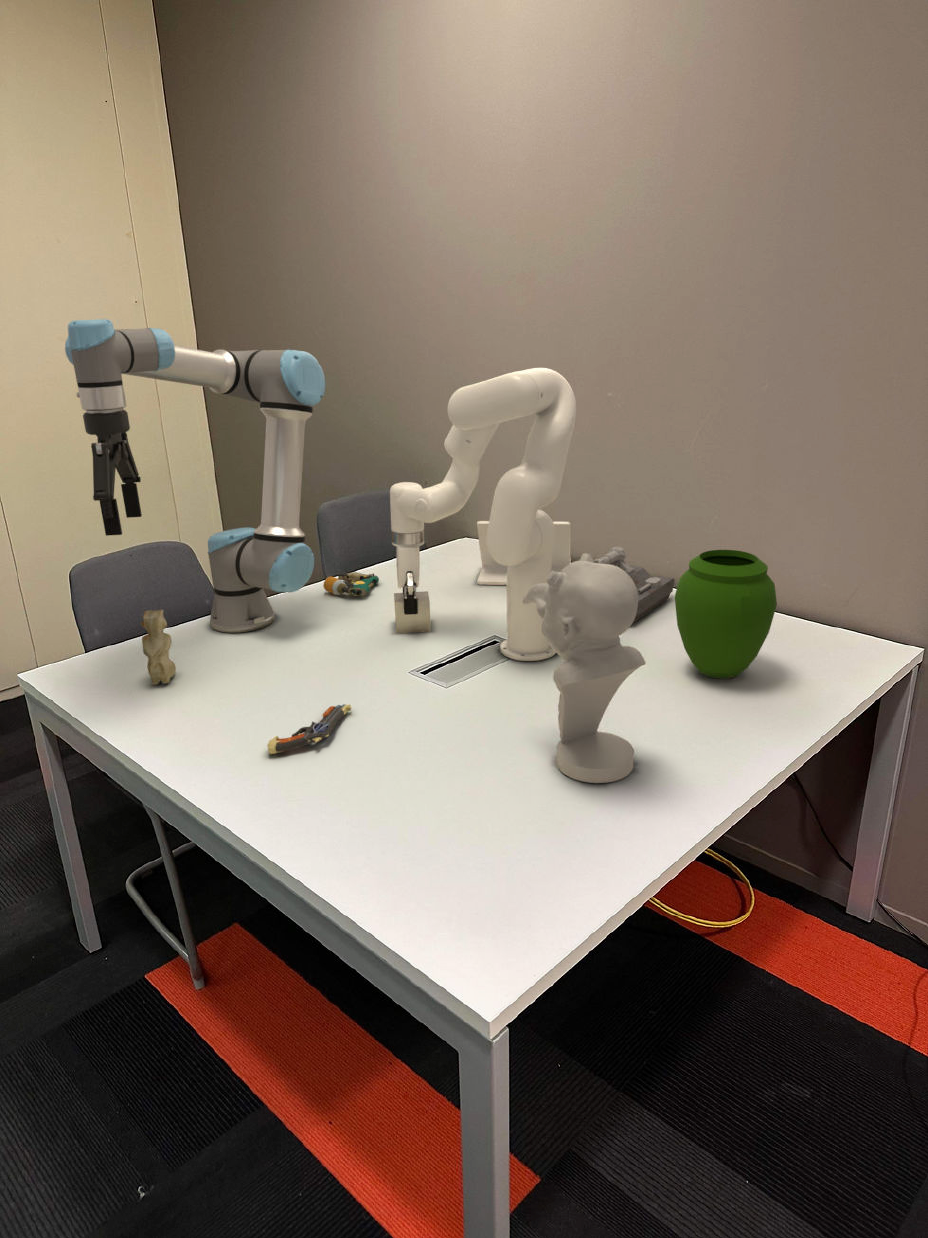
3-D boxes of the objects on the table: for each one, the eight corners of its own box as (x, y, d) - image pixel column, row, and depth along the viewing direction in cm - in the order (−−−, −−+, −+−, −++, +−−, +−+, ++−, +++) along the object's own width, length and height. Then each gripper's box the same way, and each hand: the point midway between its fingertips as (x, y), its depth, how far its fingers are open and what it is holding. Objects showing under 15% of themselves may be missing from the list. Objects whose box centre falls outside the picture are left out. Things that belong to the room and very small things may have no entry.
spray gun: (347, 579, 242) (393, 587, 236) (313, 594, 227) (362, 602, 221) (347, 565, 240) (393, 572, 235) (313, 578, 226) (361, 587, 220)
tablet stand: (569, 585, 229) (570, 524, 223) (476, 584, 232) (475, 523, 226) (570, 566, 246) (571, 508, 240) (484, 564, 249) (483, 507, 243)
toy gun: (262, 744, 147) (317, 741, 144) (302, 702, 164) (351, 699, 162) (265, 758, 147) (319, 756, 145) (305, 715, 165) (354, 712, 163)
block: (395, 623, 207) (394, 593, 204) (429, 621, 207) (427, 591, 205) (396, 633, 200) (394, 602, 198) (430, 631, 201) (429, 600, 198)
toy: (603, 584, 229) (605, 530, 224) (673, 597, 218) (677, 540, 213) (555, 612, 210) (556, 553, 205) (630, 627, 199) (633, 566, 194)
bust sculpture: (574, 712, 160) (578, 530, 147) (660, 769, 140) (672, 565, 127) (501, 733, 153) (498, 544, 140) (579, 797, 133) (584, 583, 120)
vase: (779, 663, 178) (792, 551, 169) (754, 700, 162) (766, 578, 154) (688, 646, 188) (695, 539, 179) (656, 679, 172) (662, 563, 164)
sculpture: (181, 672, 182) (171, 606, 177) (172, 686, 176) (161, 618, 170) (154, 673, 182) (142, 607, 177) (144, 687, 175) (131, 619, 170)
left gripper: (104, 403, 165) (122, 511, 172) (58, 420, 141) (82, 544, 149) (143, 401, 165) (160, 509, 173) (105, 418, 142) (126, 541, 149)
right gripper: (391, 527, 204) (393, 595, 210) (392, 548, 188) (395, 620, 194) (422, 526, 204) (424, 593, 211) (426, 547, 188) (428, 619, 195)
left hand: (124, 525), depth 161 cm, fingers open, 13 cm apart
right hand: (410, 606), depth 202 cm, fingers open, 9 cm apart
